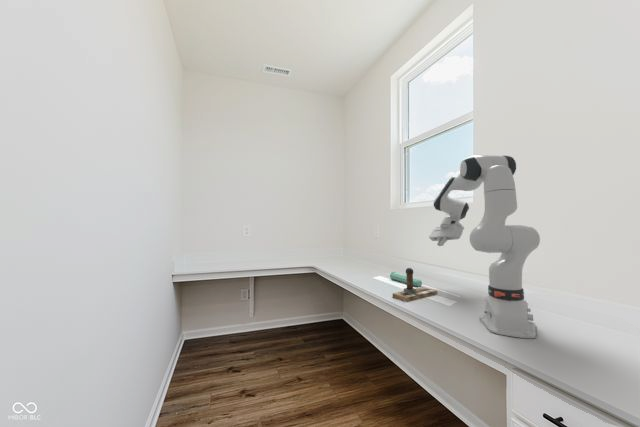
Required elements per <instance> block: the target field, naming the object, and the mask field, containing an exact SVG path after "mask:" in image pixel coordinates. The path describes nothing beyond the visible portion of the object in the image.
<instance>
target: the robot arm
mask: <svg viewBox="0 0 640 427" xmlns="http://www.w3.org/2000/svg"><path fill="white" fill-rule="evenodd" d="M459 166H460V167H459V171H460V172H459V174H457V175H453V176H451V177H450V178H449V180H448V181H447V182H446V184H445V185H444V186H443V188H442V189H441V191H440V192H439V194H437V196H436V197H435V198H434V200H433V207H434V208H435V210H436V211H440V212H442V213H445V216H444V217H443V219H442V221H441V223H440V225H439V226H437V227H436V228H434V229H432V231H431V232H430V234H429V236H428V238H429V239H430V240H431V241H432V242H437V244H436V245H437V246H438V247H442V246H444V245H445V243H446V242H448V241H452V240H459V239H461V237H462V235H463V232H464V230H465V227H464V225H462V224H461V223H460V221H461V220H463V219H465V217H466V216H467V212H468V211H469V209H470V206H469V203H468V202H467V201H464V200H462V199H459V198H456V197H453V196H450V195H449V194H450V193H451V192H453V191H465V192H471V191H475V190H476V189H478V188H480V186H481V185H482V183H483V196H484V198H483V199H484V211H483V212H484V213H483V216H482V218H481V221H480V222H479V224H478V225H477V226H476V227H474V228H473V229H472V231H471V232H470V234H469V243H470V246H471V247H472V248H473V250H475V251H477V252H481V253H488V254H491V253H493V254H495V253H496V254H497V253H501V254H500V257H499V258H498V259H497V260H496V261H494V262H493V263H491V264H490V265H489V268H488V281H489V283H488V286H487V291H488V295H487V297H485V298H484V301H483V302H484V311H483V312H484V313H483V314H484V315H480V316H479V320H480V321H481V322H482V324H483V325H484V327H486V329H487V330H488V331H489V332H491V333H494V334H498V335H501V336H506V337H507V336H508V337H512V338H513V337H514V338H522V339H535V338H537V331H536V330H537V326H536V322H535V321H534V314H532V313H531V311H532V310H531V308H530V307H529V303H528V302H527V300H525V292H524V288H523V268H524V264H525V262H526V260H527V258H528V256H530V254H531V253H532V252H533V251H535V250H536V249H537V248H538V247H539V245H540V242H541V237H540V234H539V232H538V230H537V229H536V228H534V227H532V226H527V225H521V224H507V225H506V220H507V218H508V217H509V216H511V215H513V214H514V213H515V212H516V211H517V209H518V202H517V192H516V184H515V178H514V175H515V173H516V170H517V162H516V160H515V159H514V157H512V156H510V155H489V154H487V155H481V154H476V155H472V156H469V157H465V158H464V159H463V160H462V161H461V163H460V165H459ZM530 313H531V314H530Z"/></svg>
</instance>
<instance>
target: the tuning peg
mask: <svg viewBox="0 0 640 427" xmlns="http://www.w3.org/2000/svg"><path fill="white" fill-rule="evenodd" d="M405 274H406V276H407V284H406V287H405V288H403V291H404V293H408V294H413V293H414V294H418V293H417V291H416V288H415V287H414V286H413V278H414V276H413V275H414V270H413V269H412V268H411V267H407V268H406V270H405Z"/></svg>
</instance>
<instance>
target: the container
mask: <svg viewBox="0 0 640 427" xmlns="http://www.w3.org/2000/svg"><path fill="white" fill-rule="evenodd" d="M389 277H390V278H389V279H391V280H392V281H396V282H400V283H403V284H406V285H407V274H406V275H405V274H401V273H398V272H396V271H391V273H390V274H389ZM422 285H423V281H422V280H421V279H419V278H417V277H413V287H417V288H420V287H422Z"/></svg>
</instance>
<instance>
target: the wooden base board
mask: <svg viewBox="0 0 640 427" xmlns="http://www.w3.org/2000/svg"><path fill="white" fill-rule="evenodd" d="M415 289H416V291H417V293H418V294H414V293H413V294H408V293H404V290H401V291H398V292H394V293H392V298H393V299H398V300H401V301H402V302H403V301H404V302H406V303H407V302H412V301H415V300H420V299H424V298H428V297H431V296H436V295H438V290H435V289H432V288H427V287H424V286H420V287H417V288H415Z"/></svg>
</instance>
